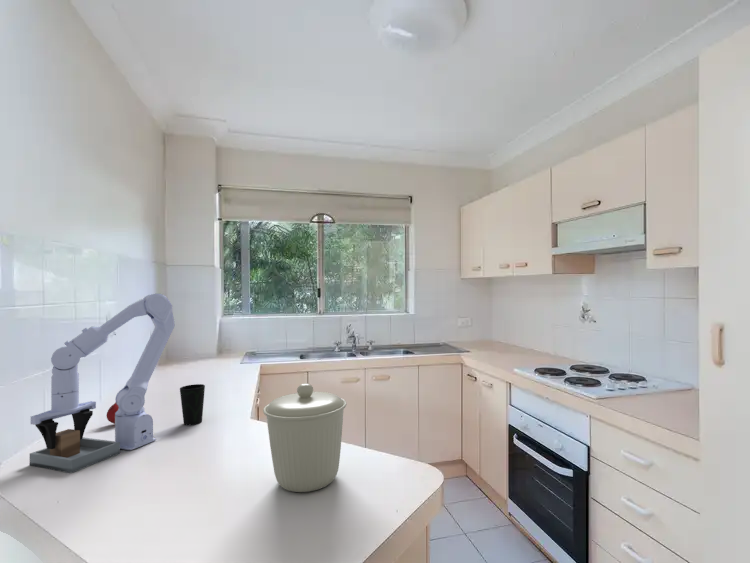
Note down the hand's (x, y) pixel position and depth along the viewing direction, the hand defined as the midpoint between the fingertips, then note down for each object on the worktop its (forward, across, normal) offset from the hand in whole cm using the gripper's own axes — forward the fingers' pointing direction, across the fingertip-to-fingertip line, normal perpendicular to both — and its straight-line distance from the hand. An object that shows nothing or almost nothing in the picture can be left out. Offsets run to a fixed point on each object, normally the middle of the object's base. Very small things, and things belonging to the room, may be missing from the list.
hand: (65, 443), depth 100 cm
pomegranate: (+4, -24, -14) cm, 29 cm away
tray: (+4, 0, +4) cm, 5 cm away
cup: (+4, -32, +10) cm, 34 cm away
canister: (+4, -6, +70) cm, 70 cm away
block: (+3, 0, 0) cm, 3 cm away
